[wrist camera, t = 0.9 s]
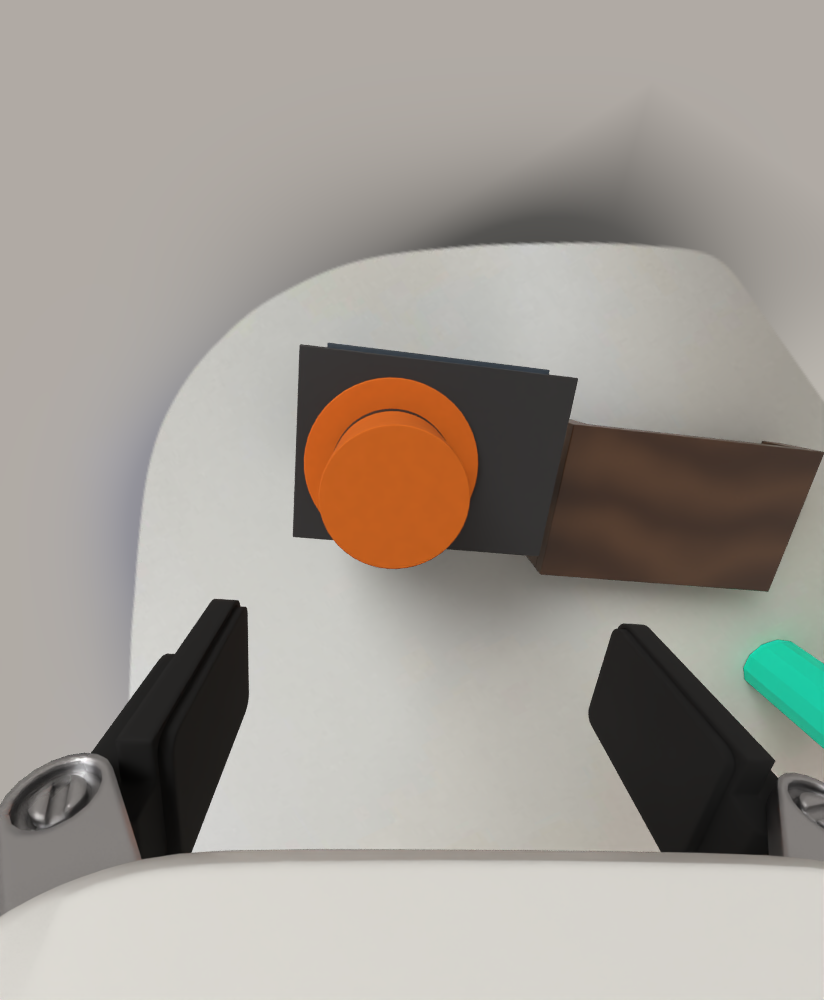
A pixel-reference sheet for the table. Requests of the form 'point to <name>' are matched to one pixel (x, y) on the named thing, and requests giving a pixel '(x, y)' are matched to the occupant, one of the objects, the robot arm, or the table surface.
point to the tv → (492, 418)
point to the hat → (391, 471)
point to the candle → (790, 684)
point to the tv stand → (673, 508)
